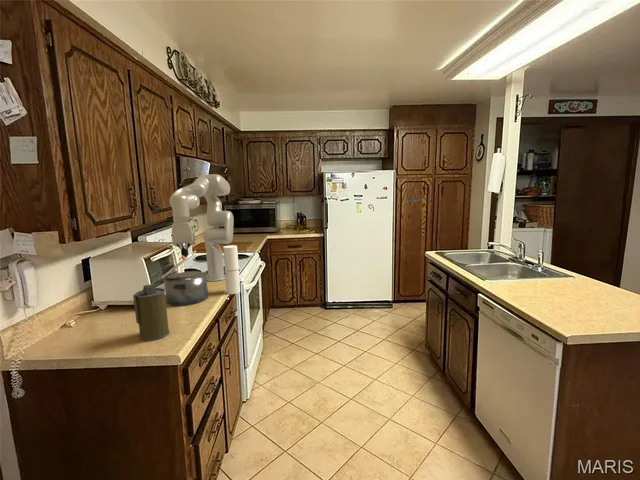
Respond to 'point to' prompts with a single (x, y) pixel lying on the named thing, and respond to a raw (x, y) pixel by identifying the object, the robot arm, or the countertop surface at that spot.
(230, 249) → the cylindrical container
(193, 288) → the cooker pot
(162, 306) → the canister
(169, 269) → the cooker lid
